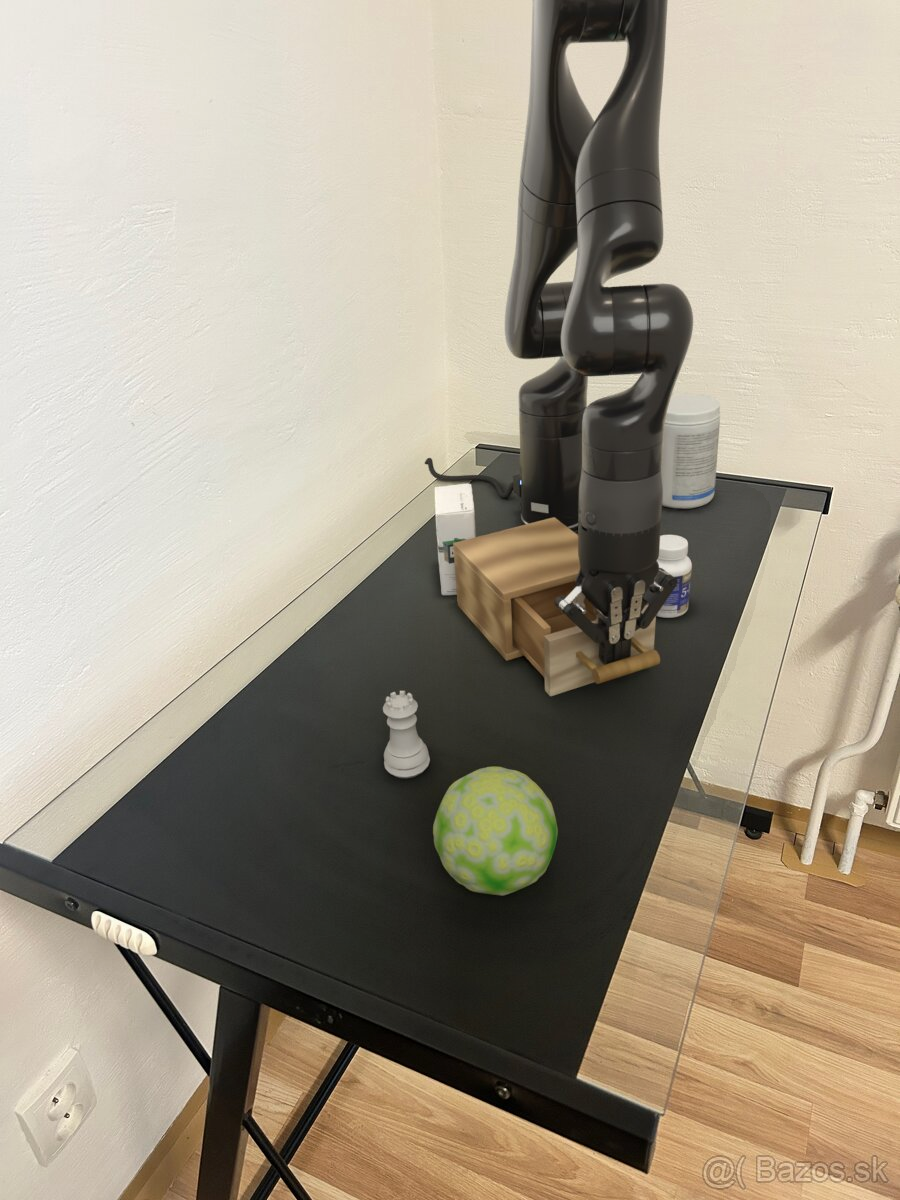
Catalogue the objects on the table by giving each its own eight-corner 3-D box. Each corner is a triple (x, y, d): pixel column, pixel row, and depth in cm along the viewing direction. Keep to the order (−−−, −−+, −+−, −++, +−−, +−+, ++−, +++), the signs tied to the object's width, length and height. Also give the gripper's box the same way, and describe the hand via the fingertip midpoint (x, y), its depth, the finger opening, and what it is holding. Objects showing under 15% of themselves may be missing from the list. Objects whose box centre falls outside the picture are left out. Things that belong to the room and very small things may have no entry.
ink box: (439, 564, 120) (432, 484, 114) (475, 561, 120) (471, 481, 113) (441, 596, 112) (434, 512, 106) (480, 593, 112) (475, 509, 106)
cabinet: (612, 628, 103) (614, 562, 99) (506, 661, 99) (503, 593, 94) (554, 578, 114) (554, 516, 110) (457, 605, 110) (452, 542, 106)
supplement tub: (723, 492, 133) (732, 397, 126) (699, 516, 127) (707, 418, 119) (663, 480, 138) (668, 389, 131) (636, 503, 132) (641, 408, 124)
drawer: (680, 687, 91) (685, 631, 88) (574, 723, 87) (574, 667, 84) (592, 609, 105) (593, 559, 102) (497, 638, 101) (495, 586, 98)
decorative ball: (569, 915, 69) (569, 822, 64) (442, 929, 68) (432, 836, 63) (547, 823, 77) (545, 735, 72) (434, 835, 77) (424, 747, 72)
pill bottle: (688, 620, 104) (694, 553, 99) (643, 618, 105) (646, 552, 100) (687, 597, 108) (693, 532, 103) (644, 595, 109) (647, 531, 105)
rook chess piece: (376, 775, 84) (366, 708, 80) (396, 745, 88) (387, 680, 84) (419, 785, 83) (411, 718, 79) (437, 754, 86) (431, 689, 82)
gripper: (657, 482, 86) (648, 632, 95) (536, 513, 82) (539, 665, 91) (704, 511, 80) (691, 667, 89) (577, 545, 76) (576, 705, 85)
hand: (614, 666), depth 90 cm, fingers closed
